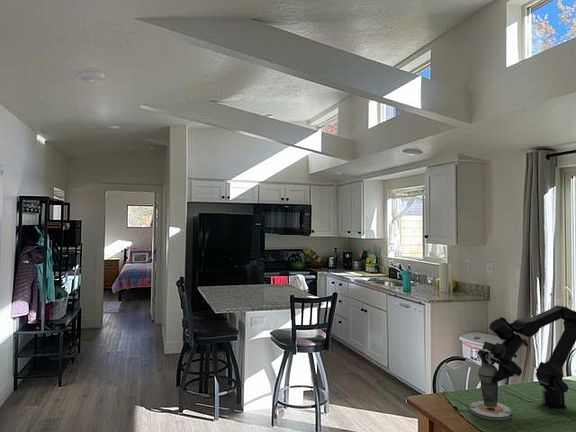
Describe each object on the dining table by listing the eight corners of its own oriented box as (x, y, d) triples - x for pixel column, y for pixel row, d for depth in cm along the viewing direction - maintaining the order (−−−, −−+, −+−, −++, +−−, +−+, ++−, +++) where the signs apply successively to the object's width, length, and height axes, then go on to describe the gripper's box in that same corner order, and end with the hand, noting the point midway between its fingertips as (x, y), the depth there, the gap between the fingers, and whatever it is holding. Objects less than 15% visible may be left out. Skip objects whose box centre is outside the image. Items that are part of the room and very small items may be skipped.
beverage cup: (490, 400, 164) (486, 348, 165) (505, 406, 157) (502, 352, 158) (475, 403, 161) (472, 350, 163) (491, 410, 155) (487, 355, 156)
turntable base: (505, 405, 165) (505, 403, 165) (518, 422, 150) (518, 420, 150) (465, 404, 168) (465, 401, 168) (473, 419, 153) (473, 417, 153)
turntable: (504, 404, 165) (504, 401, 165) (516, 419, 151) (516, 416, 151) (466, 402, 167) (466, 399, 168) (474, 416, 154) (474, 414, 154)
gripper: (479, 328, 171) (456, 359, 168) (512, 339, 152) (487, 373, 150) (498, 346, 172) (475, 377, 169) (533, 359, 154) (508, 393, 151)
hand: (485, 379), depth 160 cm, fingers closed on beverage cup, 7 cm apart
